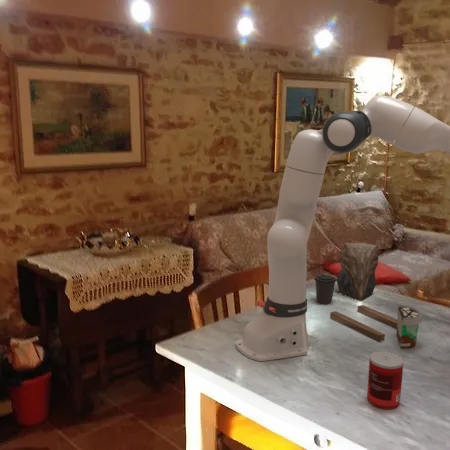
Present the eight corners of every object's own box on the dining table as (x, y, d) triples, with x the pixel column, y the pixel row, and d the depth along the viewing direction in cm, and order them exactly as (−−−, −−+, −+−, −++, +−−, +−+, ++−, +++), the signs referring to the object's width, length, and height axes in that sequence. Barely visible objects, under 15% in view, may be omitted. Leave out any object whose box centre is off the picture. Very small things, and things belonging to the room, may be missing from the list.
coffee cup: (322, 297, 198) (324, 271, 196) (339, 302, 192) (341, 276, 190) (308, 301, 193) (309, 275, 191) (325, 307, 187) (326, 281, 185)
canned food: (393, 392, 130) (396, 351, 127) (405, 409, 122) (408, 366, 120) (362, 392, 129) (365, 351, 127) (372, 410, 121) (375, 366, 119)
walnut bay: (378, 341, 159) (379, 335, 158) (330, 317, 177) (330, 312, 177) (412, 332, 166) (412, 326, 166) (362, 310, 185) (362, 304, 184)
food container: (422, 352, 152) (425, 320, 150) (400, 350, 153) (403, 318, 151) (416, 335, 164) (418, 305, 162) (395, 334, 165) (398, 304, 163)
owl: (334, 292, 203) (336, 242, 199) (355, 286, 211) (358, 238, 207) (360, 301, 194) (363, 249, 189) (381, 295, 201) (385, 244, 197)
